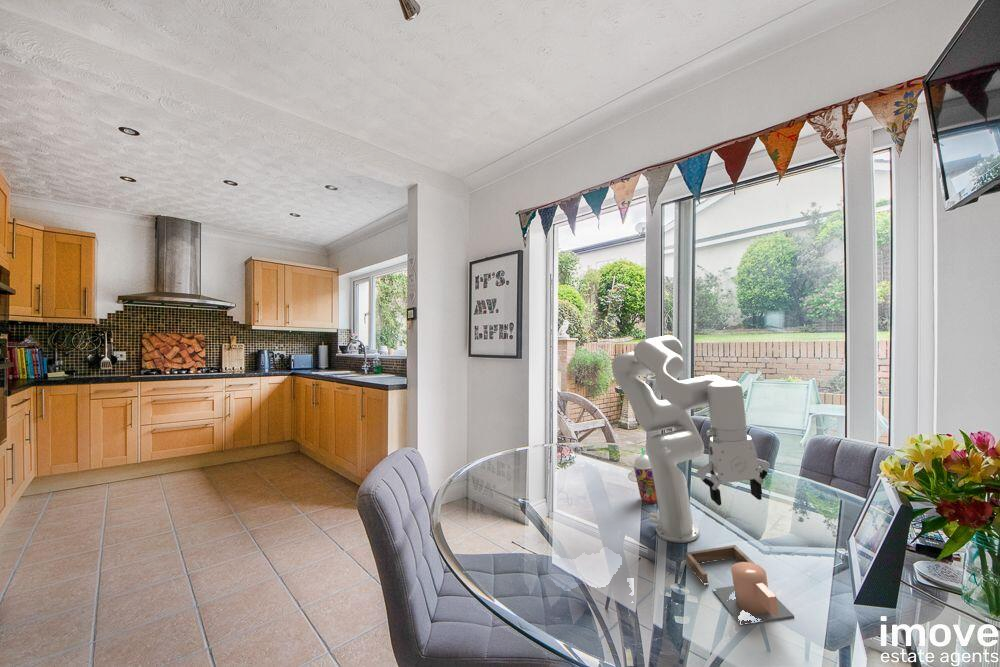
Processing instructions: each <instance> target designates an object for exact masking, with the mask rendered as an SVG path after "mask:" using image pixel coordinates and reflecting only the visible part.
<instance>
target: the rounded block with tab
mask: <svg viewBox="0 0 1000 667" xmlns="http://www.w3.org/2000/svg"><path fill="white" fill-rule="evenodd" d="M754 563H755V562H754ZM754 563H749V562H739V561H738V562H735V563H734V564H733V565H731V568H730V569H731V577H732V582H733V583H732V584H733V586H734V591H735V597H736V603H737V605H738V607H739V608H740V609H741V610H744V611H745V612H748V613H750V614H753V615H765V614H767V613H769V614H770V615H771V616H773V615H779V611H778V604H777V599H778V598H777V595H776V594H775V593H774V592H773V591H772V589H771V590H770V588H769V585H768V578H767V572H766V570H765V569H764V568H763V567H762V566H760V565H758V564H756V563H755V564H754Z"/></svg>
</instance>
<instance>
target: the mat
mask: <svg viewBox="0 0 1000 667" xmlns="http://www.w3.org/2000/svg"><path fill="white" fill-rule="evenodd" d="M715 589H716V591H714V592H715V593H716V594H715V593H714V592H713V593H714V594H715V596H716V597H717V598H718V599H719V600H720V602H721V601H722V602H723V603H724V604H725V606H726V607H725V606H724V607H725V608H726V610H728V612H729V613H730V614H731V616H732V615H733V616H734V617H735V618H736V619H735V618H734V617H733V616H732V617H733V618H734V619H735V621H736V620H737V621H738V620H739V619H738V616H739V615H740V612H741V611H742V610H741V609H740V608H739V607H738V605H737V603H736V599H734V600H732V599H730V600H729V596H730V594H732V592H733V593H734V585H728V586H723V587H717V588H715ZM727 600H728V601H727ZM722 602H721V603H722ZM723 603H722V604H723ZM724 604H723V605H724ZM777 604H778V611H779V615H773V616H771V615H770V614H769V613H767V614H765V615H753V614H751V615H752V616H754V617H755V618H757V619H758V618H759V619H761V620H760V621H767V622H773V621H779V620H784V619H791V618H792V619H793V618H795V615H794V614H793V612H791V611H790V610H789V609H788V607H786V606H785V605H784V604H783V603H782V602H781V601H780V600H779V599H778V598H777ZM751 615H750V616H751ZM757 619H756V620H757ZM737 621H736V622H737ZM757 621H758V620H757ZM738 622H739V623H740V620H739V621H738ZM738 622H737V623H738ZM751 622H752V621H751V620H749V621H748V620H747V621H744V620H742V621H741V624H745V623H751ZM754 622H755V621H754ZM739 623H738V624H739Z"/></svg>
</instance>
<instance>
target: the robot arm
mask: <svg viewBox="0 0 1000 667" xmlns="http://www.w3.org/2000/svg"><path fill="white" fill-rule="evenodd" d="M677 338H678V337H677ZM677 338H676V337H675V336H672V335H669V334H668V335H662V336H661V335H660V336H656V337H650V338H646V339H642V340H640V341H639V342H637V344H635V346H634V348H633V351H627V352H624V353H620V354H618V355H617V356H615V357H614V358H613V360H612V363H611V370H612V374H613V377H614V380H615V382H616V384H617V386H618V387H619V388H620V389H621V391H622V392H623V394H624V395H625V396H626V399H627V401H628V402H629V405H630V407H631V409H632V411H633V415H634V416H635V418H636V421H637V422H638V424H639V427H640V428H641V429H642V430H643V432H645V433H654V432H660V431H664V430H669V429H673V431H668V432H664V433H663V432H662V433H660V434H659V433H658V434H655V435H653V436H651V437H650V438H648V439H647V441H646V442H645V451H646V452H645V453H646V455H647V456H648V459H649V461H650V465H651V468H652V473H653V478H654V484H655V490H656V497H657V502H656V503H657V508H658V513H655V512H652V511H651V512H649V513H648V516H649V522H650V523H654V524H657V525H656V528H655V529H656V533H657V535H658V537H660V538H661V539H662V540H665V541H667V542H671V543H679V544H680V543H690V542H693V541H695V540H696V539H698V538H699V536H700V533H701V532H700V529H699V526H698V525H696V523H694V522H693V515H692V509H691V504H690V496H689V489H688V483H687V479H686V476H685V474H684V472H682V470H681V469H680V468H679V467H678V466H677V464H680V463H683V462H687V461H691V460H695V459H698V458H700V457H702V456H703V454H704V453H705V446H704V442H703V439H702V437H701V435H700V432H699V430H698V428H697V427H696V425H695V423H694V420H693V418H692V417H691V415H690V413H689V411H690V410H695V409H698V408H703V407H708V409H709V420H710V429H708V430H706V432H705V433H706V435H707V437H709V444H708V462H707V463H706V464H705V465H704V466H703V467H701V468H700V469H698V470H696V474H697V476H698V478H699V479H700V480H701V481H702V483H704V484H705V485H706V486H708V487H709V492H710V499H711V500H712V501H713V502H714V503H715V504H716V505H717V506H722V497H721V490H720V488H719V486H720V485H721V484H730V483H731V484H732V483H737V482H744V481H749V486H750V493H751V495H752V496H753V497H754V498H755V499H756V500H759V501H761V500H762V495H763V489H762V484H763V483H764V479H765V478H766V477H767V476H768V471H769V469H770V468H771V463H770V462H769V461H767V460H764V459H761V458H758V455H757V451H756V447H755V444H754V441H753V438H752V437H751V436H750V435H748V429H747V428H748V427H747V421H746V413H745V412H746V411H745V401H744V393H743V392H744V390H743V388H742V385H741V384H740V383H738V381H737V382H736V381H733V380H726V379H725V378H723V377H722V376H718V375H715V374H708V375H703V376H697V377H693V378H687V379H683V380H678V378H679V377H680V376H681V375H682V373H683V371H684V368H685V363H684V359H683V357H682V356H683V351H684V350H683V349H684V348H683V346H682V343H681V342H680V340H679V339H677ZM649 374H654V375H655V376H656V378H655V379H656V380H655V381H656V387H657V389H658V392H659V393H660V394H661V397H662V398H663V399H658V398H657V397H656V396H655V393H654V391H653V389H652V387H651V386H650V385H649V384H647V383H646V382H645V381H644V380H641V379H640V378H638V376H639V377H640V376H643V375H649ZM709 473H710V477H709V478H708V477H707V474H709Z"/></svg>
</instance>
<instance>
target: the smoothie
mask: <svg viewBox="0 0 1000 667" xmlns="http://www.w3.org/2000/svg"><path fill="white" fill-rule="evenodd" d="M632 464H633V469H634V473H635V477H636V482H637V487H638V491H639V496H640V498H641V500H642V502H644V503H646V502H647V503H646V504H654V503H653V502H655V503H657V497H656V490H655V484H654V478H653V473H652V468H651V465H650V461H649V459H648V456H647V453H646V454H645V450H644V447H643V446H642V447H641V454H639V455H638V456H637V457H636V458H635V459H634V462H633V463H632Z"/></svg>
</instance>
